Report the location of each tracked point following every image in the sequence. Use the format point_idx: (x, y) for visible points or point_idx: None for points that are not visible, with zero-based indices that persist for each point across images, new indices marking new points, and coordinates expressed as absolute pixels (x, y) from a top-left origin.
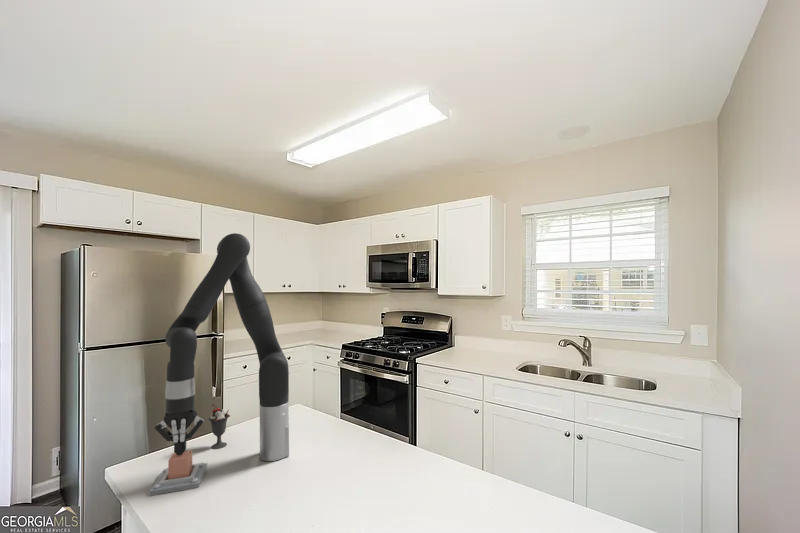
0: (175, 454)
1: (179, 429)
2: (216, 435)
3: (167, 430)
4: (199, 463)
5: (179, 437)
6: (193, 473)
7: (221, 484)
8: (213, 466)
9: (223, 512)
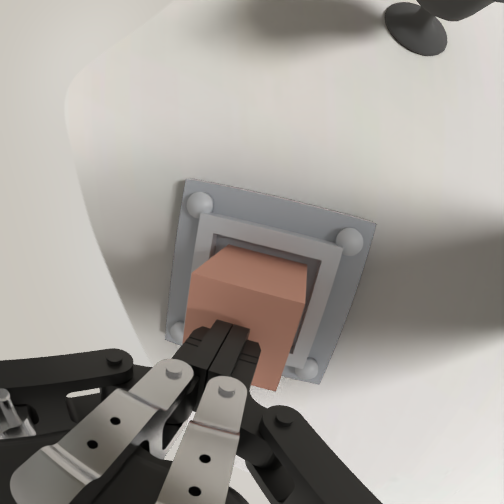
0: (205, 306)
1: (152, 435)
2: (426, 10)
3: (59, 401)
4: (341, 250)
5: (186, 405)
6: (307, 338)
7: (384, 391)
8: (396, 233)
9: None
